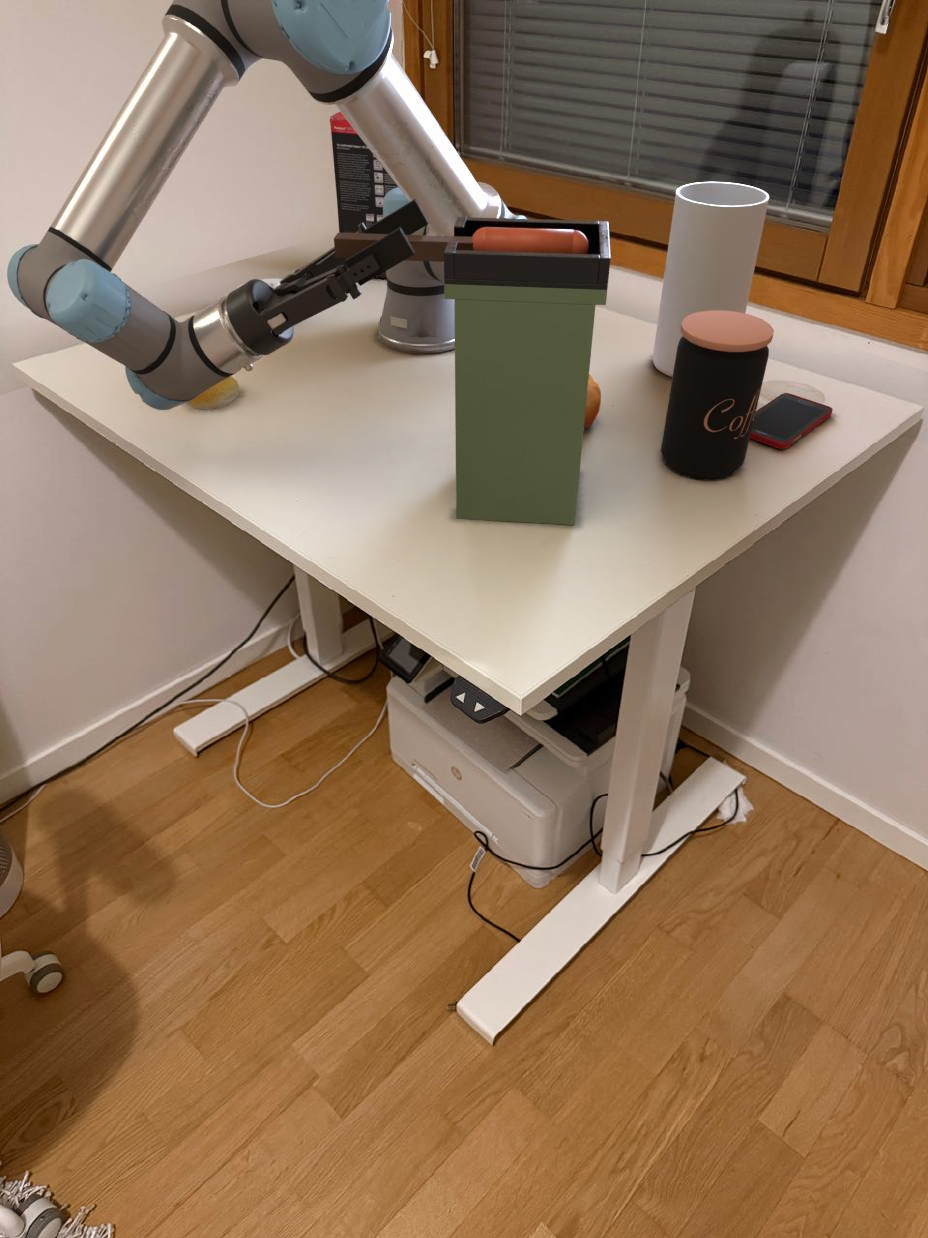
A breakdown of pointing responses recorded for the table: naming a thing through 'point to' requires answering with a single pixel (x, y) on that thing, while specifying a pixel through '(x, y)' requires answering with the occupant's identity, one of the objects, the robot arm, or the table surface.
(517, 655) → the table surface
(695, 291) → the cylinder vase
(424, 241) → the brown orange rod
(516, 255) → the black rectangular open tray
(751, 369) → the coffee jar
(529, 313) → the shelf stand
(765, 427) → the cell phone
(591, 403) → the fruit
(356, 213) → the graphics card box
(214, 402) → the bread roll
